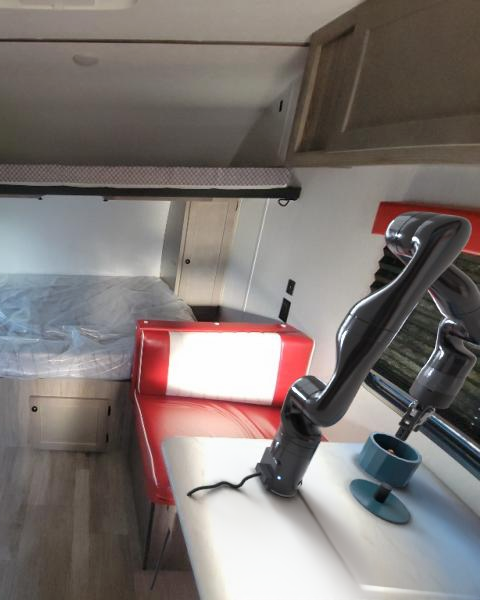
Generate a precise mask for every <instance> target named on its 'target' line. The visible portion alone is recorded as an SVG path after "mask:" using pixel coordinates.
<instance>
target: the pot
mask: <svg viewBox="0 0 480 600" xmlns="http://www.w3.org/2000/svg"><path fill="white" fill-rule="evenodd" d="M386 450H387V451H388V450H392V451H393V452H394V454H395V455H396V456H397V457H396V456H394V455H392V454H390V453H389V452H387V451H386ZM356 461H357V463H358V466H359V467H360V468H361V469H362V470H363V471H364V472H365V473H366V474H368V475H369V476H370V477H372V478H373V479H374V480H377V481H378V482H380V483H381V482H385V483H387V484H389V485H390V486H391V487H392V488H404V487H406V486H407V485H408V483H409V482H410V480H411V479H412V477H413V476H414V475H415V472H416V471H417V470H418V468H419V467H420V465H421V464H422V461H423V457H422V455H421V454H420V452H419V451H418V449H416V448H415V447H414V446H412V445H411V444H409V443H408V442H406V441H402V440H400V439H398V438H396V437H395V435H392V434H389V433H386V432H383V431H373V432H370V434H369V435H368V437H367V439H366V441H365V443H364V444H363V446H362V448H361V450H360V451H359V453H358V455H357V457H356Z"/></svg>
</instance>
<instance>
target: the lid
mask: <svg viewBox="0 0 480 600" xmlns="http://www.w3.org/2000/svg"><path fill="white" fill-rule="evenodd" d="M393 488H394V487H392V486H390V485H389V484H387V483H385V482H380V484H377V483H375V482H373V481H371V480H367V479H363V478H355V479H352V480H351V481H350V482H349V490H350V492H351V495H352V496H353V498H354V499H355V500H356V501H357V502H358V503H359V504H360V505H361V506H362V507H363V508H364V509H366V510H367V511H368V512H370V513H371V514H373V515H375V516H376V517H378V518H381V519H382V520H385V521H387V522H390V523H393V524H400V525H401V524H405V523H407V522H408V521H409V519H410V513H409V510H408V508H407V507H406V505H405V504H404V503H403V501H401V499H399V498H398V497H397V495H395V494H393V493H392V491H393Z"/></svg>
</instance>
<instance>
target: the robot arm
mask: <svg viewBox="0 0 480 600" xmlns="http://www.w3.org/2000/svg"><path fill="white" fill-rule="evenodd" d="M472 229H473V228H472V224H471V222H470V220H469V219H467V218H466V217H463V216H459V215H453V214H448V213H447V214H445V213H438V212H431V211H429V212H428V211H420V210H413V211H406V212H403V213H401V214H399V215H397V216H396V217H394V218H393V219H392V220H391V221H390V222H389V224H388V225H387V227H386V228H385V232H384V242H385V244H386V247H387V248H388V249H389V251H391V252H392V254H393V255H395V256H396V257H397V258H398V259H399V260H400V261H401V262H402V263H403V264H404V265H405V266H404V268H403V269H402V270H401V271H400V273H399V274H398V275H396V277H395V278H394V279H393V280H391V281H390V282H389V283H387V284H386V285H384V286H382V287H380V288H379V289H376V290H375V291H373V292H371V293H369V294H368V295H366V296H364V297H362V298H360V299H359V300H357V301H356V302H355V303H354V304H353V305H352V306H351V307H350V309H349V310H348V311H347V313H346V315H345V316H344V318H343V319H342V321H341V322H340V324H339V325H338V328H337V330H336V334H335V346H334V347H335V348H334V349H335V351H334V354H335V355H334V356H335V357H334V358H335V359H334V360H335V361H334V370H333V372H332V374H331V377H330V379H329V381H328V383H326V382H324V381H323V380H322V379H320V378H319V377H317V376H315V375H311V374H307V375H302V376H300V377H298V378H297V379H296V380H294V381H293V383H291V385H290V386H289V388H288V390H287V393H286V395H285V398H284V400H283V404H282V407H281V409H280V413H279V421H280V422H279V424H278V427H277V428H276V432H275V434H274V436H273V439H272V441H271V444H270V446H266V447H265V449H264V452H263V453H262V455H261V459H260V461H259V462H256V465H255V467H254V471H255V472H254V473H252V474H249V475H247V476H245V477H243V478H242V480H241V481H240V482H239V483H238V484H234V483H231V482H229V481H227V480H223V481H219V482H216V483H214V484H211V485H210V484H208V485H201V486H197V487H194V488H192V489H191V490H189V491H188V492H187V493H186V496H187V497H190V496H191V495H193V494H195V493H196V492H200V491H203V490H204V491H205V490H211V489H212V490H213V489H215V488H218V487H220V486H224V485H225V486H229V487H231V488H233V489H240V488H241V487H243V486H244V484H245V483H246V482H247V481H248V480H250V479H253V478H256V477H258V478H259V480H260V482H261V483H262V485H263V487H264V488H265V489H264V490H266V491H268V492H271V493H273V494H275V495H277V496H280V497H283V498H293V497H295V495H296V494H297V493H298V489H299V487H300V488H302V485H303V480H304V477H305V474H306V473H307V471H308V468H309V467H310V465H311V462H312V461H313V459H314V456H315V454H316V452H317V450H318V448H319V446H320V445H321V442H322V440H323V433H322V430H321V429H326V428H330V427H332V426H334V425H336V424H337V423H338V422H340V421H341V420H342V419H343V418H344V417H345V415H346V413H347V412H348V410H349V409H350V407H351V406H352V404H353V402H354V400H355V398H356V396H357V394H358V393H359V391H360V389H361V387H362V385H363V383H364V381H365V380H366V378H367V376H368V375H369V373H370V372H371V370H372V369H373V367H374V366H375V365H376V363H377V361H378V360H379V358H380V357H381V356H382V354H383V353H384V352H385V351H386V350H387V348H388V347H389V345H390V344H391V343H392V341H393V339H395V336H397V334H398V332H400V329H402V327H403V325H404V323H405V322H406V320H407V319H408V317H409V316H410V315H411V313H412V312H413V310H414V309H415V308H416V307H417V305H418V304H419V302H420V301H421V300H422V298H424V296H425V295H426V293H427V292H428V293H429V295H430V296H431V299H432V300H433V302H434V303H435V305H436V307H437V308H438V310H439V312H440V313H441V314H442V315H443V316H442V317H441V319H440V322H439V324H438V329H437V337H436V342H435V348H434V350H433V352H432V354H431V356H430V357H429V360H428V361H427V362H426V364H425V365H424V366H423V367H422V368H421V370H420V371H419V373H418V375H417V376H416V378H415V379H414V382H413V383H412V384H411V387H410V388H409V390H408V392H409V395H410V396H411V397H412V398H413V399H415V400H414V402H411V403H410V404H409V405H408V407H407V410H406V411H405V413H404V414H403V416H402V417H401V419H400V421H399V422H398V426H399V427H398V429H397V431H396V432H395V434H394V436H395V437H396V438H398V439H400V440H402V441H405V442H406V441H407V440H408V439H409V437H410V436H411V433H412V432H414V433H417V432H419V431H420V429H421V428H422V426H423V424H424V423H425V422H427V421H428V420H429V419H430V418H431V417H432V416H433V414H434V413H435V411H436V409H440V410H442V409H443V410H445V409H448V408H449V407H450V405H451V404H452V403H453V401H454V400H455V399H456V396H457V395H458V393H459V392H460V390H461V389H462V388H463V386H464V382H465V380H466V378H467V377H468V376H469V374H470V373H471V371H472V369H473V368H474V366H475V365H476V362H477V360H478V359H477V356H476V355H475V354H474V353H473V352H472V351H470V350H469V349H467V348H466V347H465V345H464V341H465V342H466V343H469V344H472V345H473V346H476V347H480V290H479V288H478V286H477V285H476V284H475V282H474V281H473V280H472V279H471V278H470V277H469V275H467V274H466V273H465V272H464V271H462V270H461V269H460V268H458V267H457V266H456V265H454V264H453V262H454V261H455V260H457V258H458V257H459V255H461V253H462V251H463V250H464V249H465V247H466V245H467V244H468V242H469V240H470V238H471V235H472ZM407 422H408V423H407ZM170 535H171V529H170V527H168V528H167V531H166V534H165V537H164V539H163V544H162V547H161V550H160V554H159V557H158V560H157V563H156V568H155V570H154V571H155V572H154V575H153V578H152V580H151V581H152V582H151V584H150V586H149V589H150V591H153V590H154V588H155V584H156V581H157V577H158V575H159V571H160V567H161V565H162V561H163V557H164V553H165V550H166V547H167V544H168V541H169V537H170Z"/></svg>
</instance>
